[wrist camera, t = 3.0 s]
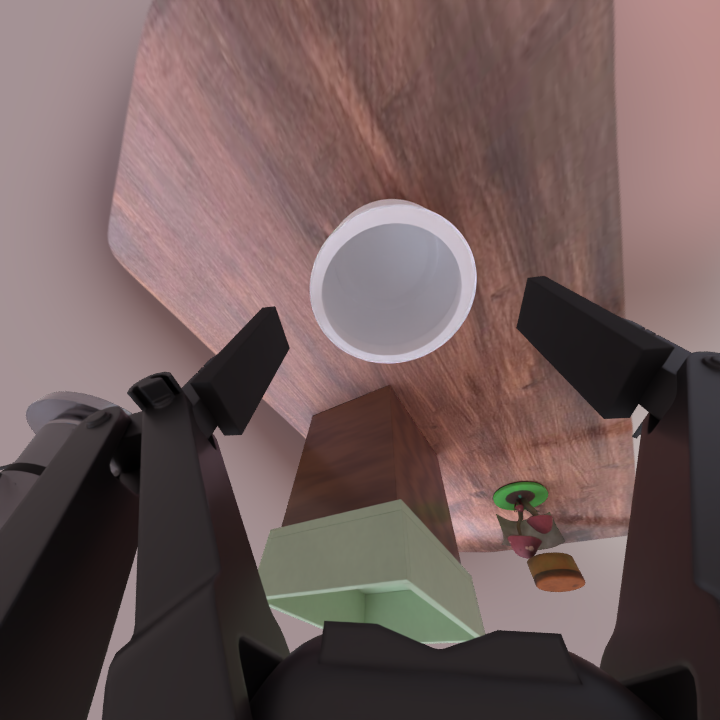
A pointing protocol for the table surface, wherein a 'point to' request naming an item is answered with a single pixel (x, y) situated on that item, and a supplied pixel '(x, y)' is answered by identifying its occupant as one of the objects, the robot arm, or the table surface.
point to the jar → (392, 282)
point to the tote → (371, 575)
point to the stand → (369, 465)
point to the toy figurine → (536, 538)
